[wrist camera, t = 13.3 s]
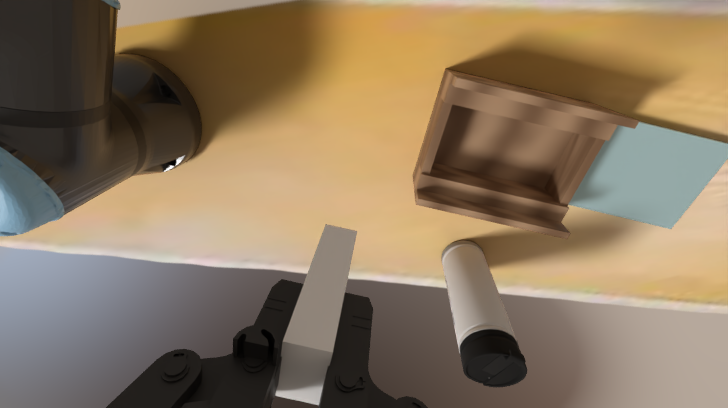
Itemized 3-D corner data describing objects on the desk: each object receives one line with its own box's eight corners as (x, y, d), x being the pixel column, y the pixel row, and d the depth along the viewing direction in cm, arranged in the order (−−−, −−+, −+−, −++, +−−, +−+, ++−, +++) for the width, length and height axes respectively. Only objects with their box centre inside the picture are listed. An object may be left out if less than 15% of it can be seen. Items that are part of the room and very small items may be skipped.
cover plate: (543, 193, 45) (553, 205, 42) (589, 108, 40) (605, 115, 37) (660, 221, 46) (679, 235, 43) (722, 141, 40) (749, 150, 37)
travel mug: (493, 249, 50) (545, 370, 32) (466, 278, 53) (500, 403, 35) (458, 231, 49) (493, 345, 31) (433, 261, 52) (451, 381, 34)
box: (412, 175, 45) (415, 204, 38) (445, 68, 39) (457, 77, 31) (539, 204, 45) (567, 239, 38) (593, 103, 39) (639, 120, 31)
